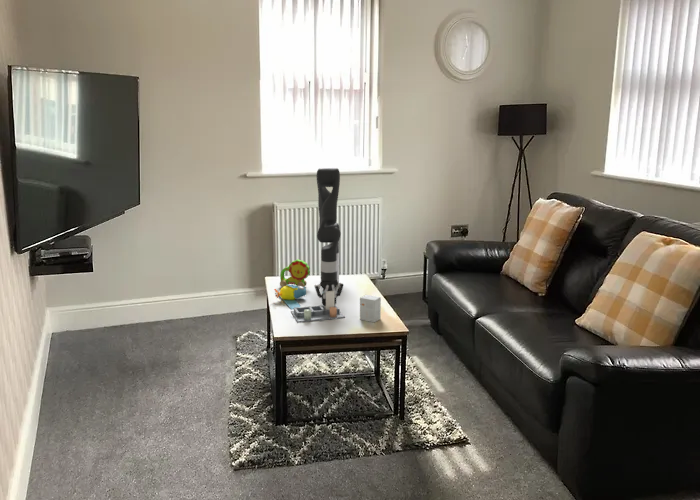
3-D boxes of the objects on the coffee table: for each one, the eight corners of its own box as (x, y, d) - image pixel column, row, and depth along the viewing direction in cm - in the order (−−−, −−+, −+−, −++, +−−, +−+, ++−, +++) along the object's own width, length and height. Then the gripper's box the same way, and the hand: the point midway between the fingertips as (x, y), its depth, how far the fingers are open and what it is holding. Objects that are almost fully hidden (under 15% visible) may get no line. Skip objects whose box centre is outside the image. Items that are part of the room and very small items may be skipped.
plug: (323, 307, 293) (323, 289, 291) (332, 306, 294) (332, 288, 292) (326, 310, 289) (326, 291, 287) (334, 309, 290) (334, 291, 288)
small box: (380, 319, 284) (381, 297, 282) (374, 322, 279) (375, 300, 277) (365, 315, 288) (365, 294, 286) (359, 319, 283) (359, 297, 281)
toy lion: (279, 287, 330) (278, 259, 327) (282, 284, 336) (282, 257, 332) (307, 289, 327) (307, 261, 323) (311, 286, 332) (310, 259, 328)
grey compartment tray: (291, 312, 292) (290, 302, 291) (336, 307, 299) (336, 298, 298) (297, 322, 279) (297, 312, 278) (344, 317, 285) (344, 308, 284)
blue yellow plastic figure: (268, 278, 318) (296, 275, 324) (268, 294, 320) (296, 292, 326) (284, 293, 293) (314, 290, 298) (284, 311, 295) (314, 308, 300)
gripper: (341, 266, 293) (341, 301, 297) (312, 268, 289) (312, 304, 293) (346, 270, 286) (345, 306, 290) (316, 273, 282) (316, 309, 286)
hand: (329, 305), depth 291 cm, fingers closed on plug, 4 cm apart
